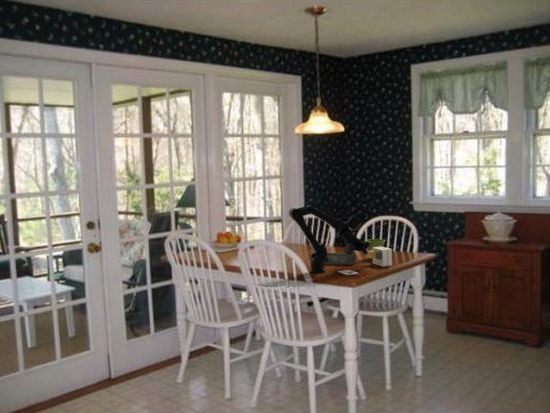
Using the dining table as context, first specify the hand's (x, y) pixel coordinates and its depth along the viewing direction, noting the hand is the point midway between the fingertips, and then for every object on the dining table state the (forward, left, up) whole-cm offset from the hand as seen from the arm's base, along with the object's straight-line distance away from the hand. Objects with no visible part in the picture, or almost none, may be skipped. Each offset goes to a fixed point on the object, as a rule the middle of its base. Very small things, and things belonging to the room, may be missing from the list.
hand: (366, 254), depth 322 cm
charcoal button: (+9, -2, -3) cm, 10 cm away
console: (+12, 0, -7) cm, 14 cm away
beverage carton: (-3, +21, -8) cm, 22 cm away
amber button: (+8, +4, -3) cm, 10 cm away
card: (-18, -5, -7) cm, 20 cm away
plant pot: (+23, +17, -8) cm, 30 cm away
